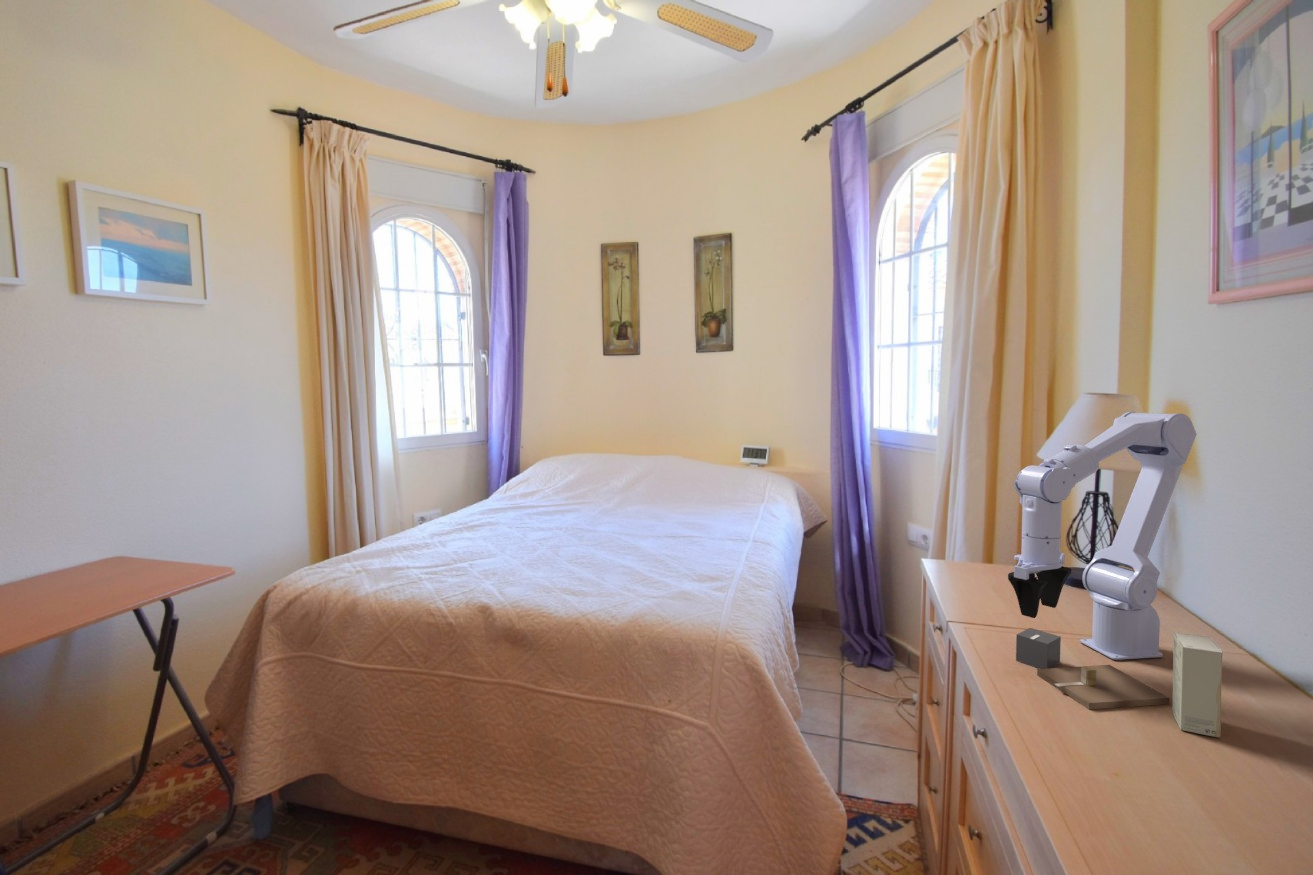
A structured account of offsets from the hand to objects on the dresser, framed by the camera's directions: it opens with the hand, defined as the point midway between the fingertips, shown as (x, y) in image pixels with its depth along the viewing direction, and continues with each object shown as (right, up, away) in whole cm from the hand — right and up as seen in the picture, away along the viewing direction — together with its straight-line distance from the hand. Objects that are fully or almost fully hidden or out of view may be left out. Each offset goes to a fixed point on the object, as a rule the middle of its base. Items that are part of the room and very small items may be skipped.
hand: (1039, 610), depth 105 cm
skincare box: (+10, -11, -19) cm, 24 cm away
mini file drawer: (0, -9, +1) cm, 9 cm away
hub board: (+4, -10, -9) cm, 14 cm away
